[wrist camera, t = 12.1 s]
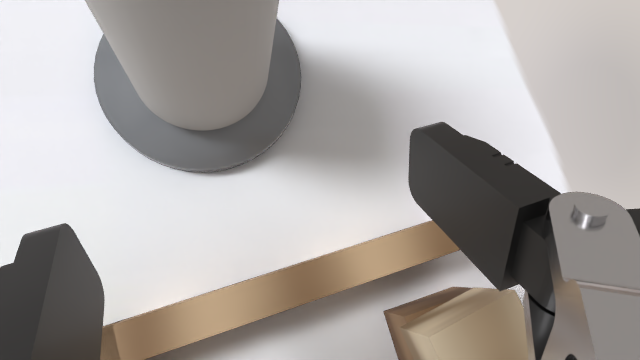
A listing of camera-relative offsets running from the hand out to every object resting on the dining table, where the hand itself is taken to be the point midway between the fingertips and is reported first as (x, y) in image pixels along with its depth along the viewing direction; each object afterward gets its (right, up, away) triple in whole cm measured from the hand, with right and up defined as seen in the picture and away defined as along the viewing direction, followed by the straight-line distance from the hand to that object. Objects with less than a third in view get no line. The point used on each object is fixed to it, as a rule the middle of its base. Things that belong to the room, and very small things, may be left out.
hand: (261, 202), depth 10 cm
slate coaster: (-5, +6, +12) cm, 14 cm away
